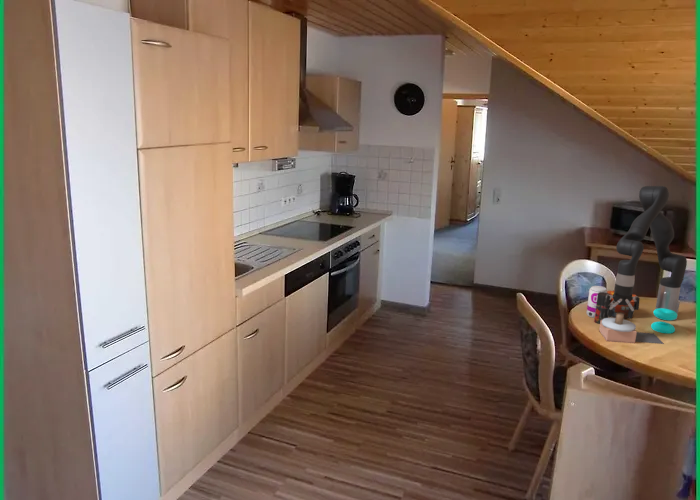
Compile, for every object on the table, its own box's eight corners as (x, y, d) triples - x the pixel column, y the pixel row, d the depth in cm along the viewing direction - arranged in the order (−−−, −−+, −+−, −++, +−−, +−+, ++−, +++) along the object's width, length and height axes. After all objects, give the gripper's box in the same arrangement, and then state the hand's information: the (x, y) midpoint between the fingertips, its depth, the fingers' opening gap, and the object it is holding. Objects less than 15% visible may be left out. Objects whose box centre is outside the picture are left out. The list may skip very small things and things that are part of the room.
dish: (625, 333, 257) (627, 321, 256) (634, 344, 246) (636, 331, 244) (598, 331, 259) (600, 320, 257) (606, 342, 247) (608, 329, 246)
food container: (642, 320, 275) (645, 300, 272) (609, 319, 275) (612, 299, 272) (627, 309, 290) (630, 290, 287) (596, 308, 290) (599, 289, 288)
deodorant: (608, 326, 266) (612, 296, 263) (595, 324, 268) (599, 295, 264) (605, 321, 272) (609, 292, 268) (592, 320, 273) (596, 291, 269)
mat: (653, 334, 257) (653, 333, 257) (663, 344, 246) (664, 343, 246) (626, 332, 259) (626, 331, 259) (635, 342, 247) (635, 341, 247)
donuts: (657, 305, 267) (680, 311, 260) (653, 325, 269) (676, 330, 262) (651, 310, 259) (674, 316, 253) (647, 330, 262) (671, 336, 255)
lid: (629, 321, 257) (631, 310, 255) (640, 332, 243) (642, 321, 242) (597, 319, 258) (599, 307, 257) (606, 330, 245) (608, 318, 244)
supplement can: (602, 320, 274) (606, 291, 270) (584, 316, 278) (588, 288, 274) (604, 315, 281) (608, 287, 277) (587, 311, 285) (591, 284, 281)
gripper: (638, 281, 248) (633, 315, 252) (605, 279, 250) (600, 313, 254) (644, 287, 241) (639, 321, 245) (610, 284, 243) (605, 319, 247)
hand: (619, 317), depth 250 cm, fingers open, 8 cm apart
